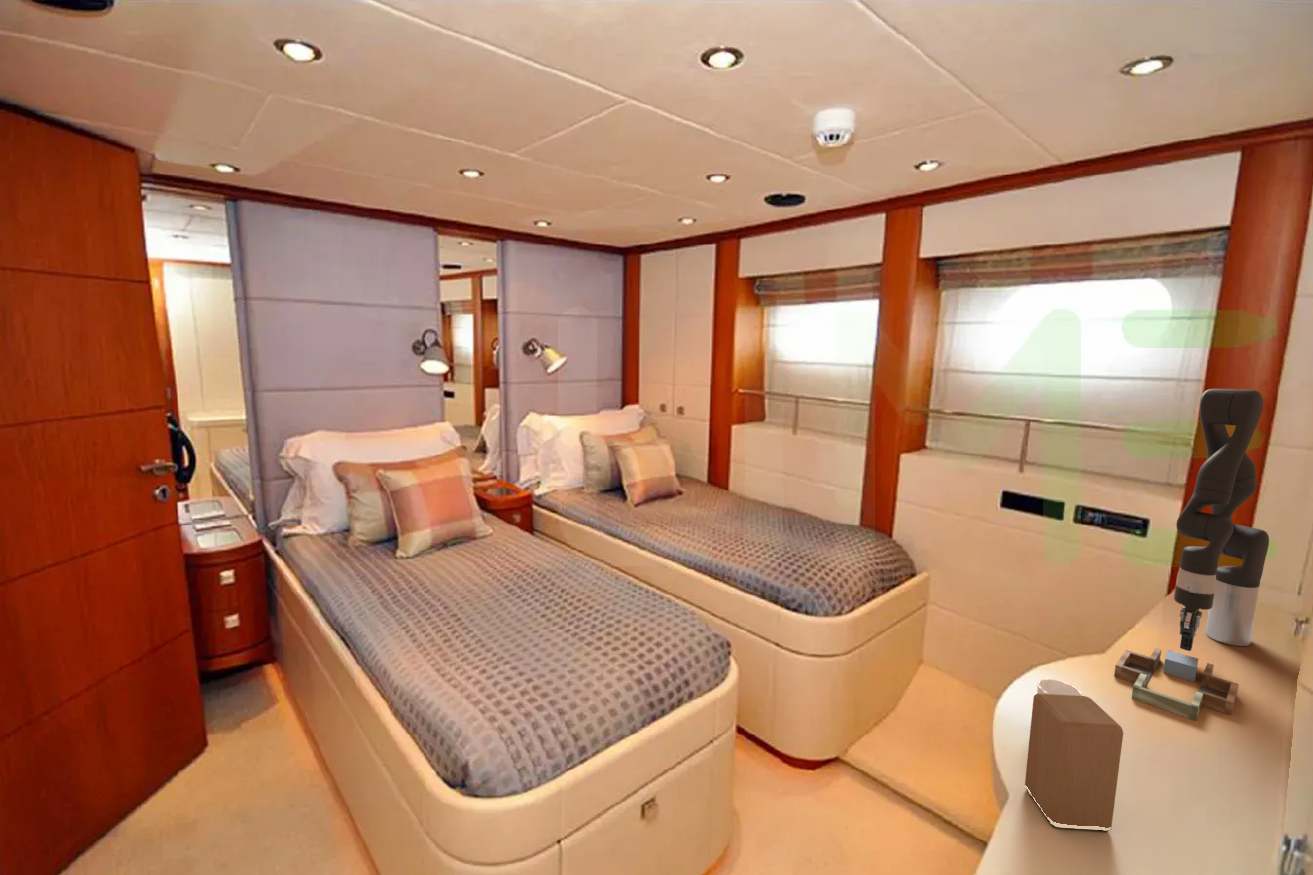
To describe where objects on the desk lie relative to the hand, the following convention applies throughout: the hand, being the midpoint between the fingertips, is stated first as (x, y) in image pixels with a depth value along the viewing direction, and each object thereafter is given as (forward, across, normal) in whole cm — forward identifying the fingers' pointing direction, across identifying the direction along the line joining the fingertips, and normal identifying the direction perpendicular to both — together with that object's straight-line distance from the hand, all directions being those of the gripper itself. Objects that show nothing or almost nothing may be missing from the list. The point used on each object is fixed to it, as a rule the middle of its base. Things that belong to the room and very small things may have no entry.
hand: (1185, 648), depth 155 cm
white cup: (+5, +60, -14) cm, 61 cm away
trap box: (+4, +18, 0) cm, 18 cm away
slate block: (+4, +8, 0) cm, 9 cm away
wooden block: (+5, +84, -5) cm, 84 cm away
